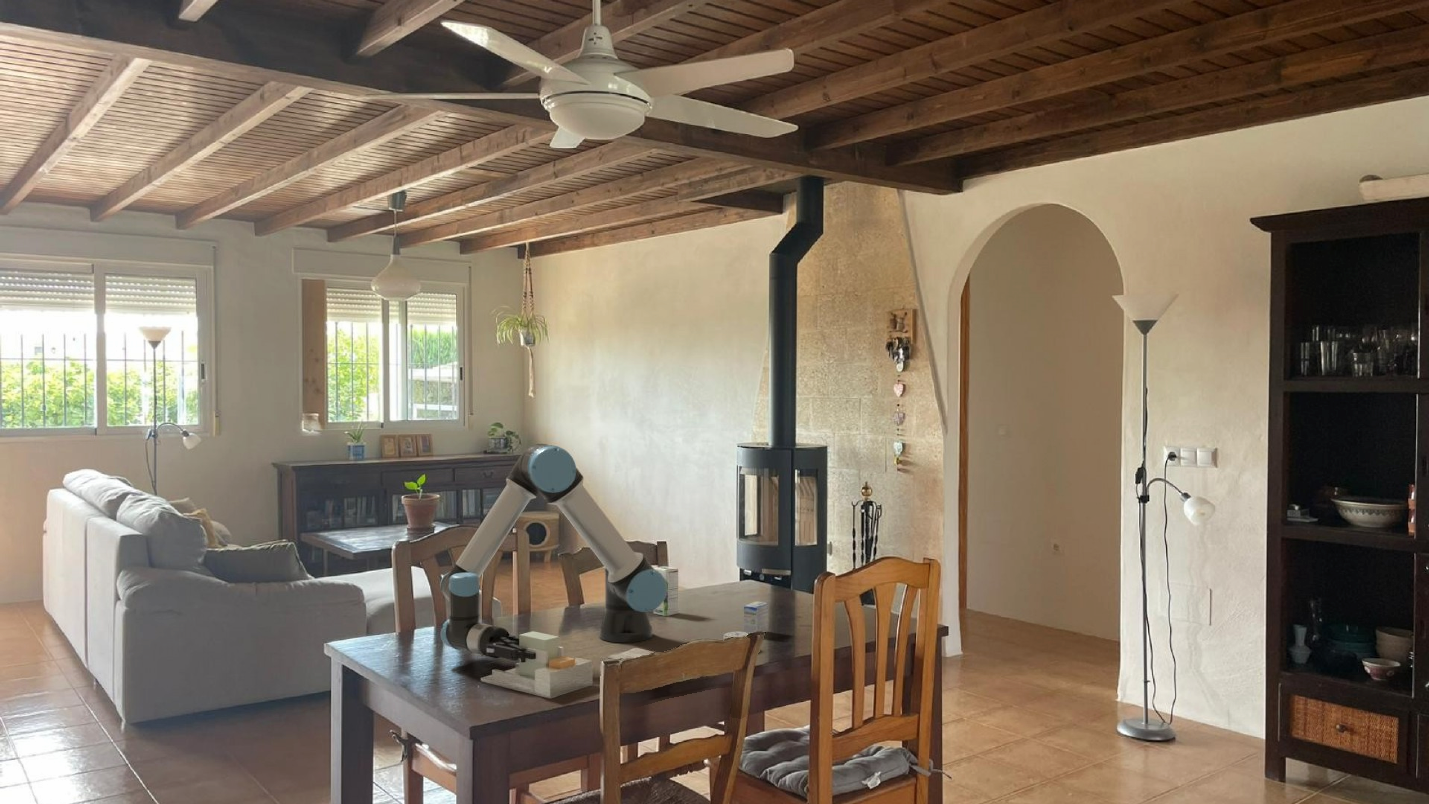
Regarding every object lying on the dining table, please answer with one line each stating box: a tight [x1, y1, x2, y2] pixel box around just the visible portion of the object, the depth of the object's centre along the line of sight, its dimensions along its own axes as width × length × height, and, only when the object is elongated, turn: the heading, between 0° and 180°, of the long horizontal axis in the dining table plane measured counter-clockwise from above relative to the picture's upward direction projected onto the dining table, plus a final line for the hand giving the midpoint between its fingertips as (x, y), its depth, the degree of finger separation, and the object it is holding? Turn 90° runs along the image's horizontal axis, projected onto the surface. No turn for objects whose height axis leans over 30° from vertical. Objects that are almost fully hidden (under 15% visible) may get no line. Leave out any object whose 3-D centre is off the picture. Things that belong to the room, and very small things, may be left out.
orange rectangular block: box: [549, 655, 575, 669], centre depth 250 cm, size 5×4×6 cm
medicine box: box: [743, 601, 770, 633], centre depth 305 cm, size 8×4×9 cm, turn 152°
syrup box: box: [653, 566, 679, 617], centre depth 332 cm, size 6×6×14 cm
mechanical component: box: [723, 631, 748, 640], centre depth 288 cm, size 10×4×10 cm
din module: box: [518, 630, 560, 679], centre depth 255 cm, size 4×9×10 cm, turn 53°
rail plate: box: [480, 657, 594, 700], centre depth 256 cm, size 14×24×6 cm, turn 53°
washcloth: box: [606, 647, 655, 660], centre depth 272 cm, size 12×18×3 cm, turn 53°
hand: (554, 655), depth 251 cm, fingers closed on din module, 4 cm apart
